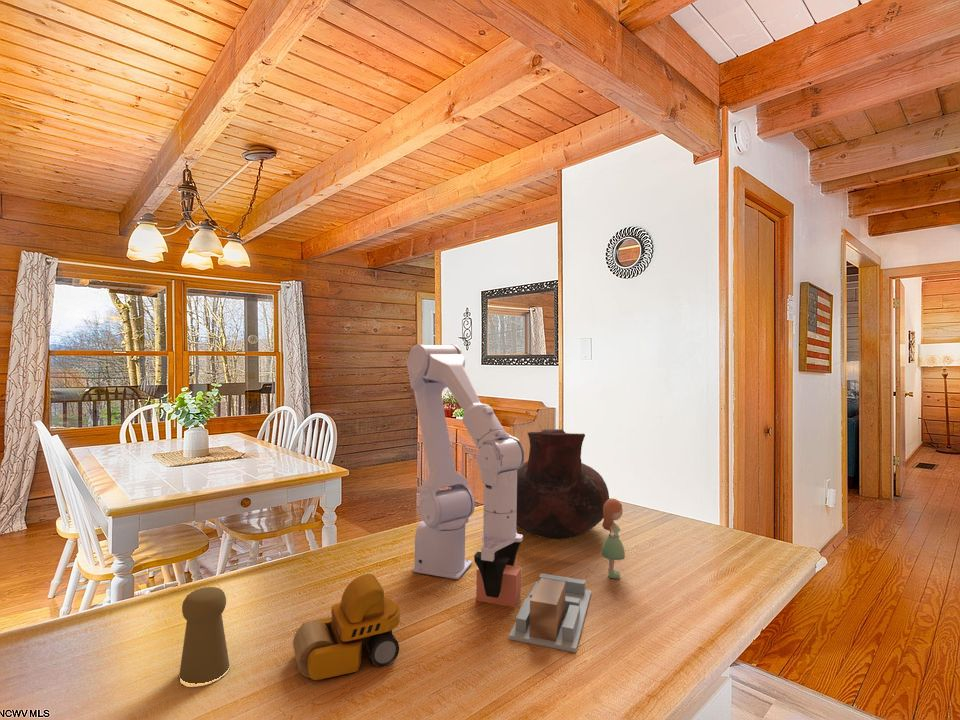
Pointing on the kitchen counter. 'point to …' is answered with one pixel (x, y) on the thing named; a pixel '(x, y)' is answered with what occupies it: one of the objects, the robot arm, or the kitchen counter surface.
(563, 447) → the jug
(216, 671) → the brown pawn figure
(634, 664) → the kitchen counter surface
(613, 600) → the kitchen counter surface
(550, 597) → the small taupe brick
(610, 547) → the toy
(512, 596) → the pink block
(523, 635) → the jig
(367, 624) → the toy road roller
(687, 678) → the kitchen counter surface
